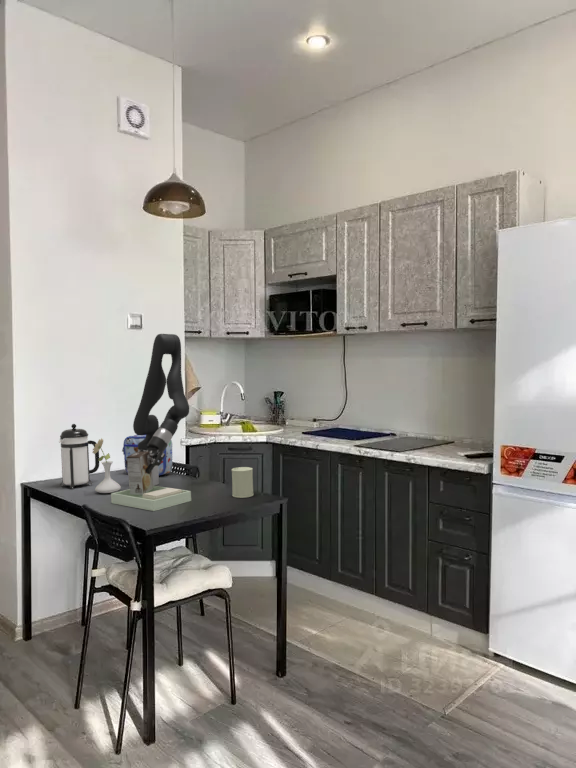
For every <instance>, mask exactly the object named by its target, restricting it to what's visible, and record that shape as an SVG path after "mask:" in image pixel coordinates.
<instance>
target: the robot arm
mask: <svg viewBox="0 0 576 768" xmlns="http://www.w3.org/2000/svg"><path fill="white" fill-rule="evenodd" d="M153 340H154V341H153V343H152V344H153V345H152V349H151V350H152V351H151V356H150V363H149V368H148V372H147V375H146V379H145V382H144V387H143V392H142V396H141V400H140V402H139V405H138V409H137V411H136V414H135V416H134V419H133V425H132V428H133V431H134V433H135V435H146V437H145V439H144V440H143V441H141V442H139V443H138V452H150V461H151V464H149V466H148V467H147V469H146V470H145V471H146V473H148V474H150V472H151V471H152V481H153V485H154V486H159V484H160V481H159V480H160V477H159V476H160V475H159V472H158V466H159V465H160V464H161V462H162V460H163V458H164V457H165V454H164V453H163V452H164V451H165V449H166V447H167V446H168V444H169V443H170V441H171V440H172V438H173V437H174V435H175V434H176V432H177V430H178V427H179V426H178V425H179V423H180V421H181V420H182V419H185V418H187V417H188V415H189V414H190V404H189V402H188V400H187V399H188V398H187V397H186V394H185V392H184V391H185V390H184V384H183V378H182V343H181V339H180V336H178V335H177V334H176V333H175V334H173V333H159V334H157V335H156V336H155V338H154V339H153ZM164 355H170V356H171V364H170V365H171V366H170V368H169V371H168V374H167V376H166V374H165V371H164V369H163V358H164ZM166 388H167V389H166ZM165 390H167V394H168V398H169V399H171V400H172V402H173V405H172V406H170V408H169V409H168V411H167V413H166V414H165V417H164V418H163V419H164V420H163V421H162V422H161V424H160V423H159V419H158V417H157V416H156V415H154V414H150V413H151V411H152V409H153V408H154V406H155V405H156V404H157V403H158V402H159V400H161V399H162V397H163V395H164V393H165ZM159 424H160V425H159ZM158 460H159V462H158Z"/></svg>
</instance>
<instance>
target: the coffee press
mask: <svg viewBox="0 0 576 768" xmlns="http://www.w3.org/2000/svg"><path fill="white" fill-rule="evenodd" d="M88 437H89V433H88V432H87V430H85V429H83V428H77V424H75V423H72V424H71V428H69V429H65V430H63V431H62V432H61V434H60V436H59V440H58V443H60V451H61V454H60V456H61V473H62V474H61V477H62V478H61V479H62V480H61V483H60V485H61V486H62V484H63V485H64V486H65V485H66V486H70V489H71V488H72V487H74V488H76V487H75V486H80V485H85V484H86V485H88V484H90V485H91V486H92V485H93V482H92V481H91V480H90V479H91V478H90V475H91V474H94V473H96V472H97V471H98V469H99V467H100V461H98V460H99V458H100V450H99V451H98V452H97V453H96V454H94V467H93V468H92V469H90V457H89V456H90V455H89V454H90V452H89V445H92V446H93V448H94V447H95V444H97V443H98V442H96V441H95V440H88V439H89V438H88ZM88 482H89V483H88ZM60 485H59V486H60Z"/></svg>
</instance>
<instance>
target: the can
mask: <svg viewBox="0 0 576 768" xmlns="http://www.w3.org/2000/svg"><path fill="white" fill-rule="evenodd" d="M231 478H232V479H231V482H232V483H231V484H232V486H231V489H232V490H231V491H232V494H231V495H232V497H233V498H236V499H237V498H240V499H242V498H250V497H253V496H254V479H253V467H249V466H240V467H233V468H231Z"/></svg>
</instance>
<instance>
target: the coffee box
mask: <svg viewBox="0 0 576 768" xmlns="http://www.w3.org/2000/svg"><path fill="white" fill-rule="evenodd" d="M126 458H127V468H128V473H127V474H128V475H127V476H128V484H129V486H128V487H129V488H128V489H130V494H131V495H143V494H145V493H147V492H148V491H150V490H151V489H152V488H153V481H152V471H151V472H150V474H148V473H146V471H145V470H146V469H147V467H148V466H149V464H151V461H150V452H135V453H133V454H131V455H129V456H127V457H126Z"/></svg>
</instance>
